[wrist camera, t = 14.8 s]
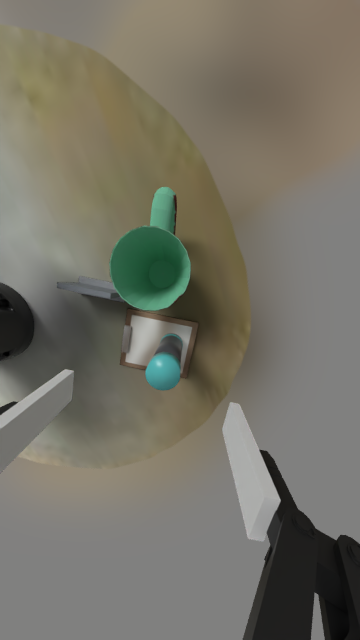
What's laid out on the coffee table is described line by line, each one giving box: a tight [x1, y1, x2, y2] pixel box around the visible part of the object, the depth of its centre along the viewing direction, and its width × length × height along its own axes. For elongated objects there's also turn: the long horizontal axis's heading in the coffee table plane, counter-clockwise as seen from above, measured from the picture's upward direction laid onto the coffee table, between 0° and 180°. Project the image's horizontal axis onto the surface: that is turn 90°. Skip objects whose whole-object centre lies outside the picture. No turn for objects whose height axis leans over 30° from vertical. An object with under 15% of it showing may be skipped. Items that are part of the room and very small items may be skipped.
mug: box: [109, 187, 191, 311], centre depth 25 cm, size 15×10×10 cm
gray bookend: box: [57, 276, 125, 302], centre depth 29 cm, size 8×3×6 cm, turn 79°
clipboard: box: [120, 308, 199, 378], centre depth 33 cm, size 13×11×1 cm
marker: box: [146, 333, 183, 390], centre depth 27 cm, size 4×4×11 cm
